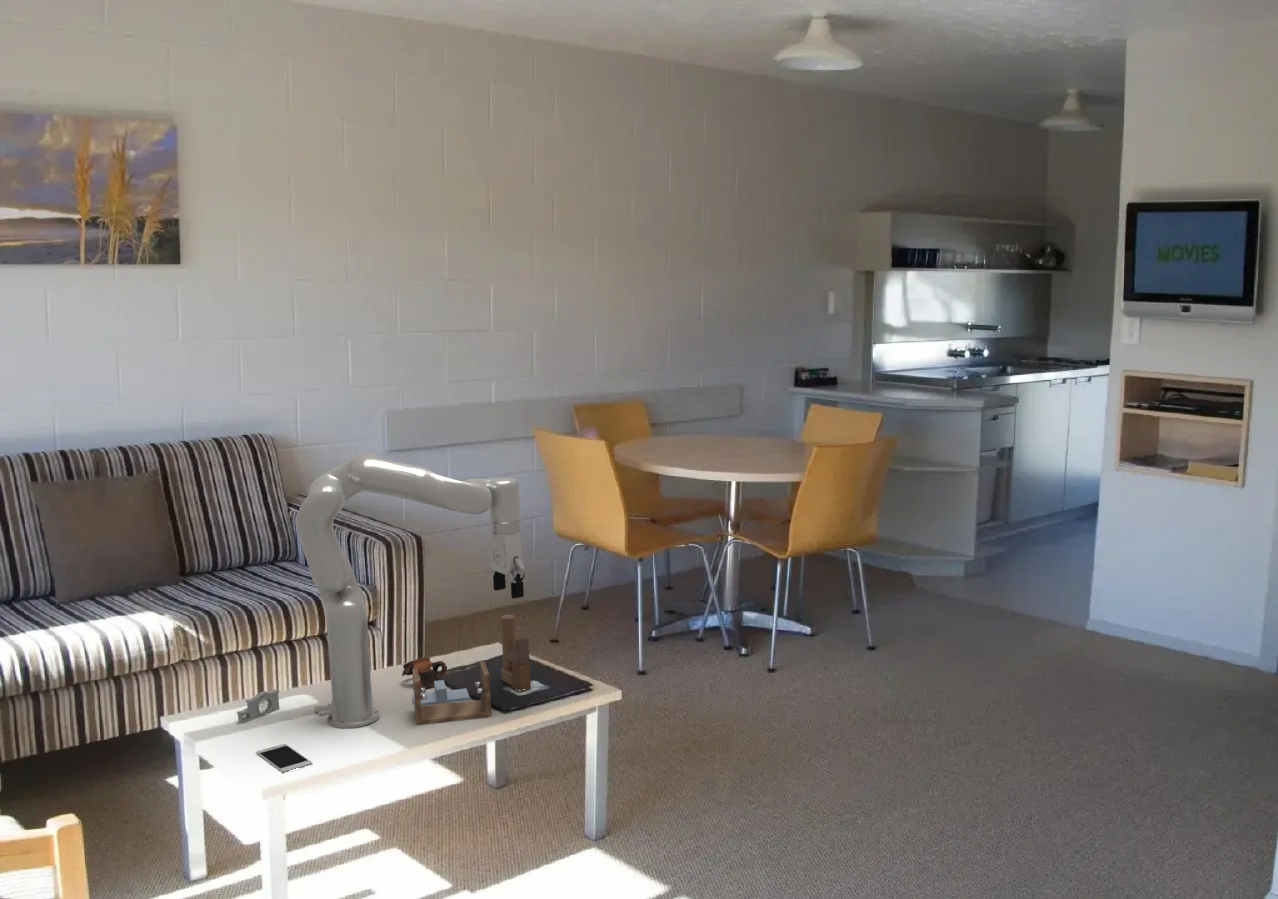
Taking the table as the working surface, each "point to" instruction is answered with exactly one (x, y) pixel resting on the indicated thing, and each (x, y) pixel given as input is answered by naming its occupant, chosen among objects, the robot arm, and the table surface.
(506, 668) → the wooden block
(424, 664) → the pottery mug
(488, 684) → the shelf unit
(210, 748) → the table surface
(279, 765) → the smartphone
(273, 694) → the garden wall model
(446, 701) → the shelf board
